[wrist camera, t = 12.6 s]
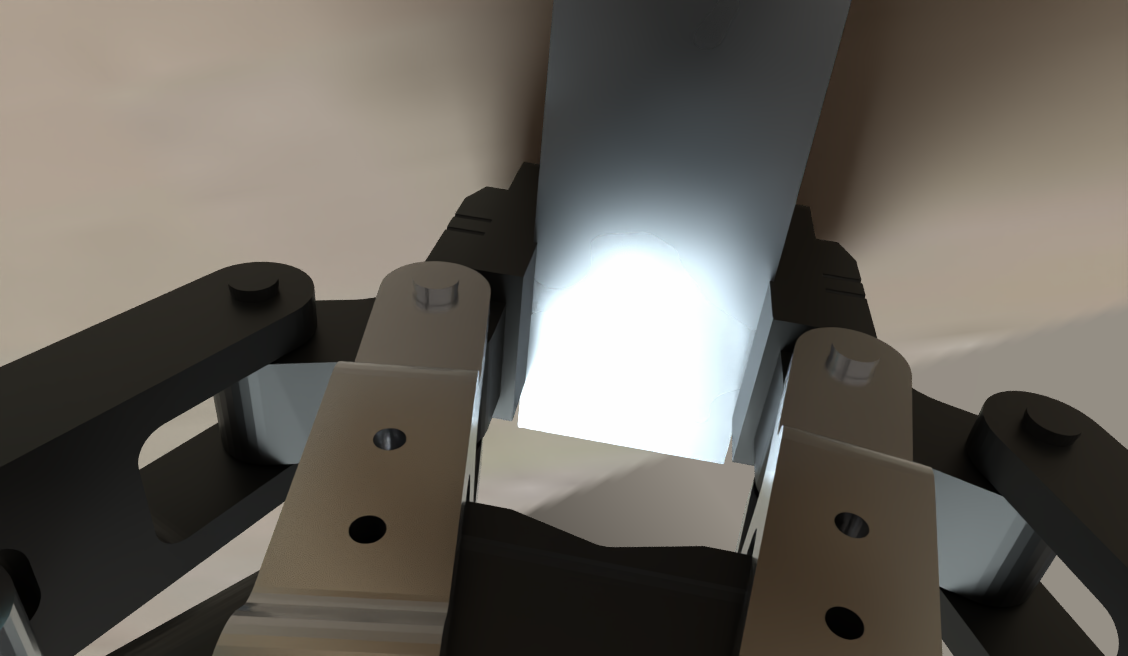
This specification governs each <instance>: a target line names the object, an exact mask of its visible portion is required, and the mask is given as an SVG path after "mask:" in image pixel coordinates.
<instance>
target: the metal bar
mask: <svg viewBox="0 0 1128 656" xmlns="http://www.w3.org/2000/svg"><path fill="white" fill-rule="evenodd" d="M851 1H852V0H554V2H553V14H552V26H551V37H550V49H549V61H548V73H547V85H546V97H545V109H544V121H543V133H542V145H541V157H540V169H539V181H538V192H537V204H536V216H535V228H534V240H533V242H535V243H537V254H536V266H535V277H534V289H533V300H532V312H531V323H530V335H529V346H528V357H527V369H526V380H525V384H524V387H523V390H522V393H521V396H520V407H519V419H518V427H522V428H528V429H533V430H539V431H544V432H550V433H555V434H561V435H566V436H572V437H577V438H583V439H588V440H594V441H599V442H604V443H610V444H615V445H621V446H626V447H632V448H637V449H643V450H648V451H654V452H659V453H665V454H670V455H676V456H681V457H687V458H692V459H698V460H703V461H709V462H714V463H720V464H724V460H725V457H726V453H727V449H728V446H729V442H730V438H731V435H732V417H733V413H734V409H735V406H736V402H737V398H738V395H739V391H740V387H741V384H742V380H743V376H744V373H745V369H746V365H747V362H748V358H749V354H750V351H751V347H752V343H753V340H754V336H755V332H756V329H757V325H758V321H759V318H760V314H761V310H762V307H763V303H764V299H765V296H766V292H767V288H768V285H769V281H774V279H775V276H776V272H777V269H778V265H779V261H780V258H781V254H782V250H783V247H784V243H785V240H786V236H787V232H788V229H789V225H790V221H791V218H792V214H793V211H794V207H795V203H796V200H797V196H798V193H799V189H800V185H801V182H802V178H803V174H804V171H805V167H806V164H807V160H808V156H809V153H810V149H811V145H812V142H813V138H814V135H815V131H816V127H817V124H818V120H819V116H820V113H821V109H822V106H823V102H824V98H825V95H826V91H827V87H828V84H829V80H830V77H831V73H832V69H833V66H834V62H835V59H836V55H837V51H838V48H839V44H840V40H841V37H842V33H843V30H844V26H845V22H846V19H847V15H848V11H849V8H850V4H851Z"/></svg>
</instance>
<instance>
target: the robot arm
mask: <svg viewBox="0 0 1128 656" xmlns="http://www.w3.org/2000/svg"><path fill="white" fill-rule="evenodd" d="M539 169H540V164H534V163H528V162H523V164H522V165H521V167H520V169H519V171H518V173H517V175H516V177H515V178H514V180H513V182H512V184H511V186H510V188H509V190H505V189H499V188H493V187H485V188H483V189H481V190H479V191H477V192H476V193H474V194H472V195H470V196H468V197H466V198H465V199H464V201H463V202H462V204H461V205H460V207H459V209H458V210H457V212H456V213H455V217H453V218H452V220H451V221H450V223H449V224H448V226H447V230H445V231H444V232H443V234H442V236H441V237H440V239H439V240H438V242H437V243H436V245H435V247H434V248H433V250H432V251H431V253H430V255H429V256H428V258H427V259H426V261H425V262H418V263H413V264H409V265H405V266H402V267H400V268H398V269H396V270H394V271H392V272H391V273H389V274H388V275H387V276H386V277H385V278H384V279H383V281H382V282H381V284H380V287H379V290H378V293H377V296H376V297H375V298H368V299H359V300H321V301H315V290H314V284H313V281H312V279H311V278H310V277H309V276H308V275H307V274H306V273H305V272H303V271H301V270H300V269H298V268H295V267H293V266H289V265H286V264H281V263H274V262H251V263H243V264H237V265H233V266H229V267H226V268H223V269H220V270H218V271H215V272H213V273H211V274H209V275H206V276H204V277H202V278H200V279H197V280H195V281H193V282H191V283H188V284H186V285H184V286H182V287H179V288H177V289H175V290H173V291H170V292H168V293H166V294H164V295H161V296H159V297H157V298H155V299H153V300H150V301H148V302H146V303H144V304H141V305H139V306H137V307H135V308H132V309H130V310H128V311H126V312H123V313H121V314H119V315H117V316H114V317H112V318H110V319H108V320H105V321H103V322H101V323H99V324H96V325H94V326H92V327H90V328H87V329H85V330H83V331H81V332H78V333H76V334H74V335H72V336H69V337H67V338H65V339H63V340H60V341H58V342H56V343H54V344H51V345H49V346H47V347H45V348H42V349H40V350H38V351H36V352H33V353H31V354H29V355H27V356H24V357H22V358H20V359H18V360H15V361H13V362H11V363H9V364H6V365H4V366H2V367H0V656H74V655H76V654H77V653H78V652H80V651H81V650H82V649H84V648H85V647H87V646H88V645H89V644H91V643H92V642H93V641H95V640H96V639H97V638H99V637H100V636H102V635H103V634H104V633H106V632H107V631H108V630H110V629H111V628H112V627H114V626H115V625H117V624H118V623H119V622H121V621H122V620H123V619H125V618H126V617H127V616H129V615H130V614H132V613H133V612H134V611H136V610H137V609H138V608H140V607H141V606H142V605H144V604H145V603H147V602H148V601H149V600H151V599H152V598H153V597H155V596H156V595H157V594H159V593H160V592H162V591H163V590H164V589H166V588H167V587H168V586H170V585H171V584H172V583H174V582H175V581H177V580H178V579H179V578H181V577H182V576H183V575H185V574H186V573H188V572H189V571H190V570H192V569H193V568H194V567H196V566H197V565H198V564H200V563H201V562H203V561H204V560H205V559H207V558H208V557H209V556H211V555H212V554H213V553H215V552H216V551H218V550H219V549H220V548H222V547H223V546H224V545H226V544H227V543H228V542H230V541H231V540H233V539H234V538H235V537H237V536H238V535H239V534H241V533H242V532H243V531H245V530H246V529H248V528H249V527H250V526H252V525H253V524H254V523H256V522H257V521H258V520H260V519H261V518H263V517H264V516H265V515H267V514H268V513H269V512H271V511H272V510H273V509H275V508H276V507H278V506H279V505H280V504H282V503H283V502H284V501H285V503H284V505H283V508H282V511H281V514H280V516H279V519H278V522H277V525H276V527H275V530H274V533H273V535H272V538H271V541H270V544H269V546H268V549H267V552H266V555H265V557H264V560H263V563H262V566H261V568H260V570H259V571H257V572H255V573H254V574H252V575H250V576H248V577H246V578H245V579H243V580H241V581H239V582H237V583H236V584H234V585H232V586H230V587H228V588H227V589H225V590H223V591H221V592H219V593H218V594H216V595H214V596H212V597H210V598H209V599H207V600H205V601H203V602H201V603H200V604H198V605H196V606H194V607H192V608H191V609H189V610H187V611H185V612H183V613H182V614H180V615H178V616H176V617H174V618H173V619H171V620H169V621H167V622H165V623H164V624H162V625H160V626H158V627H156V628H155V629H153V630H151V631H149V632H147V633H146V634H144V635H142V636H140V637H138V638H137V639H135V640H133V641H131V642H129V643H128V644H126V645H124V646H122V647H120V648H119V649H117V650H115V651H113V652H111V653H110V654H108V655H106V656H942V640H943V641H944V642H945V644H946V645H947V647H948V648H949V650H950V651H951V653H952V654H953V655H954V656H1105V655H1104V654H1103V653H1102V652H1101V651H1100V650H1099V648H1098V647H1097V646H1096V645H1095V644H1094V643H1093V642H1092V640H1091V639H1090V638H1089V637H1088V636H1087V635H1086V634H1085V632H1084V631H1083V630H1082V629H1081V628H1080V627H1079V626H1078V624H1077V623H1076V622H1075V621H1074V620H1073V619H1072V617H1071V616H1070V615H1069V614H1068V613H1067V612H1066V611H1065V609H1063V607H1062V606H1061V605H1060V604H1059V603H1058V602H1057V600H1056V599H1055V598H1054V597H1053V596H1052V595H1051V593H1049V591H1048V590H1047V589H1046V588H1045V587H1044V585H1043V584H1042V583H1041V582H1040V580H1041V578H1042V577H1043V575H1044V574H1045V572H1046V570H1047V569H1048V567H1049V566H1050V564H1051V563H1052V561H1053V559H1054V558H1055V556H1056V555H1058V557H1059V558H1060V559H1061V560H1062V561H1063V562H1064V563H1065V564H1066V566H1067V567H1068V568H1069V569H1070V570H1071V571H1072V572H1073V573H1074V574H1075V575H1076V576H1077V577H1078V579H1079V580H1080V581H1081V582H1082V583H1083V584H1084V585H1085V586H1086V587H1087V588H1088V589H1089V590H1090V592H1091V593H1092V594H1093V595H1094V596H1095V597H1096V598H1097V599H1098V600H1099V601H1100V602H1101V604H1102V605H1103V606H1104V607H1105V608H1106V610H1107V611H1108V612H1109V614H1110V615H1111V617H1112V619H1113V621H1114V623H1115V626H1116V629H1117V633H1118V638H1119V650H1118V654H1117V656H1128V450H1127V449H1126V448H1125V447H1124V446H1123V445H1121V444H1120V443H1119V442H1118V441H1117V440H1116V439H1115V438H1113V437H1112V436H1111V435H1110V434H1109V433H1107V432H1106V431H1105V430H1104V429H1103V428H1102V427H1101V426H1099V425H1098V424H1097V423H1096V422H1094V421H1093V420H1092V419H1090V418H1089V417H1088V416H1086V415H1085V414H1083V413H1082V412H1080V411H1079V410H1077V409H1075V408H1073V407H1071V406H1069V405H1067V404H1065V403H1063V402H1060V401H1058V400H1055V399H1052V398H1049V397H1047V396H1043V395H1039V394H1035V393H1029V392H1023V391H1006V392H1000V393H997V394H994V395H992V396H990V397H989V398H988V399H987V400H986V401H985V403H984V405H983V407H982V409H981V411H980V413H979V415H975V414H973V413H970V412H967V411H964V410H962V409H959V408H956V407H953V406H950V405H948V404H945V403H942V402H940V401H937V400H935V399H932V398H930V397H928V396H926V395H924V394H922V393H920V392H918V391H916V390H915V389H913V388H912V373H911V369H910V366H909V364H908V363H907V361H906V360H905V358H904V357H903V356H902V355H901V354H900V353H899V352H898V351H896V350H895V349H894V348H893V347H891V346H890V345H888V344H886V343H885V342H883V341H881V340H879V339H877V336H876V332H875V328H874V325H873V321H872V317H871V314H870V310H869V306H868V303H867V299H865V292H864V288H863V284H862V283H861V277H860V273H859V270H858V266H857V262H856V260H855V259H854V258H853V257H852V256H851V255H850V254H849V253H848V252H847V251H846V250H845V249H844V248H843V247H842V246H841V245H840V244H839V243H838V242H831V241H825V240H819V239H816V238H815V233H814V228H813V223H812V217H811V212H810V208H809V206H803V205H796V204H795V207H794V211H793V214H792V218H791V221H790V225H789V229H788V232H787V236H786V240H785V243H784V247H783V250H782V254H781V258H780V261H779V265H778V269H777V272H776V276H775V279H774V281H769V285H768V288H767V292H766V296H765V299H764V303H763V307H762V310H761V314H760V318H759V321H758V325H757V329H756V332H755V336H754V340H753V343H752V347H751V351H750V354H749V358H748V362H747V365H746V369H745V373H744V376H743V380H742V384H741V387H740V391H739V395H738V398H737V402H736V406H735V409H734V413H733V417H732V461H733V462H737V463H742V464H747V465H753V466H755V477H754V480H753V484H752V487H751V490H750V493H749V497H748V500H747V503H746V507H745V512H744V516H743V521H742V525H741V530H740V534H739V539H738V543H737V547H736V551H735V552H731V551H726V550H721V549H716V548H710V547H705V546H683V547H605V546H599V545H596V544H594V543H591V542H589V541H587V540H584V539H581V538H579V537H577V536H574V535H572V534H570V533H567V532H565V531H562V530H560V529H557V528H555V527H553V526H550V525H548V524H545V523H543V522H541V521H538V520H536V519H533V518H531V517H528V516H526V515H524V514H521V513H519V512H516V511H514V510H512V509H506V508H501V507H496V506H491V505H485V504H480V503H477V498H478V489H479V479H480V469H481V460H482V446H483V437H484V435H485V433H486V432H487V429H488V427H489V424H490V421H491V419H492V418H497V419H503V420H508V421H512V420H513V417H514V414H515V411H516V408H517V405H518V402H519V399H520V396H521V393H522V390H523V387H524V384H525V380H526V369H527V357H528V346H529V335H530V323H531V312H532V300H533V289H534V277H535V266H536V254H537V243H535V242H533V240H534V228H535V216H536V204H537V192H538V181H539ZM212 396H214V402H215V407H216V413H217V418H218V423H217V424H215V425H213V426H212V427H210V428H208V429H207V430H205V431H203V432H202V433H200V434H198V435H197V436H195V437H193V438H192V439H190V440H188V441H187V442H185V443H183V444H182V445H180V446H178V447H177V448H175V449H173V450H172V451H170V452H168V453H167V454H165V455H163V456H162V457H160V458H158V459H157V460H155V461H153V462H152V463H150V464H148V465H147V466H145V467H143V468H142V469H140V470H139V467H138V458H139V454H140V451H141V448H142V446H143V445H144V443H145V441H146V440H147V439H148V437H149V436H150V435H151V434H152V433H153V432H154V431H155V430H156V429H157V428H159V427H160V426H162V425H163V424H165V423H167V422H168V421H170V420H172V419H174V418H175V417H177V416H179V415H181V414H182V413H184V412H186V411H188V410H189V409H191V408H193V407H195V406H196V405H198V404H200V403H202V402H203V401H205V400H207V399H209V398H210V397H212Z"/></svg>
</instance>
